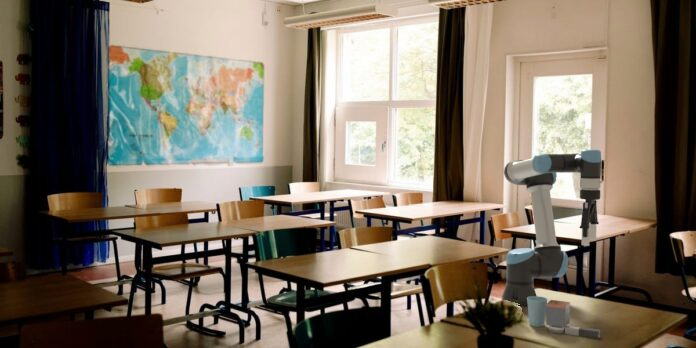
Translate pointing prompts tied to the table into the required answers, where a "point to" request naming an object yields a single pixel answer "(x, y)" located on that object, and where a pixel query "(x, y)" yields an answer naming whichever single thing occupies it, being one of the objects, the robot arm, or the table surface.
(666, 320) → the table surface
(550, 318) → the red-topped grey block
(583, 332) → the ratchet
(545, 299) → the cup
